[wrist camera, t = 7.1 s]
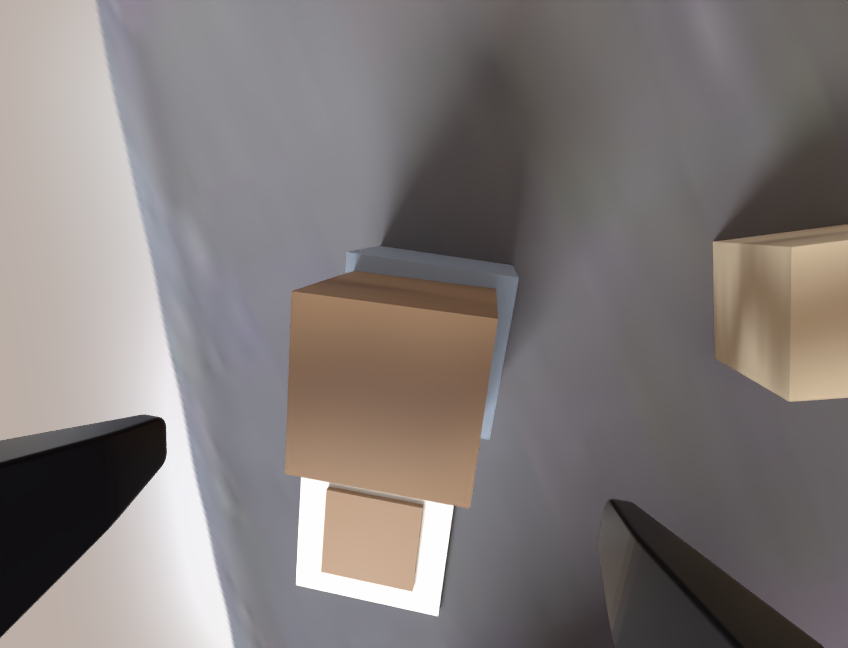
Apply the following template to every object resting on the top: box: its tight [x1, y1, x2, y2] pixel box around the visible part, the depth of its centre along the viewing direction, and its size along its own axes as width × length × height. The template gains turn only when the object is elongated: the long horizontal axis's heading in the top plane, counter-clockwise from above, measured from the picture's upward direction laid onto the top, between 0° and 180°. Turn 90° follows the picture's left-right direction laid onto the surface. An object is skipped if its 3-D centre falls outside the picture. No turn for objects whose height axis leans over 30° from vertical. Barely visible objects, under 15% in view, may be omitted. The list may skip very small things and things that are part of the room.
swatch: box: [296, 477, 454, 616], centre depth 23 cm, size 8×8×1 cm
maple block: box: [713, 224, 848, 402], centre depth 16 cm, size 5×5×5 cm
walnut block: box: [285, 271, 498, 509], centre depth 13 cm, size 5×5×5 cm
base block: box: [345, 246, 519, 439], centre depth 18 cm, size 6×6×5 cm
